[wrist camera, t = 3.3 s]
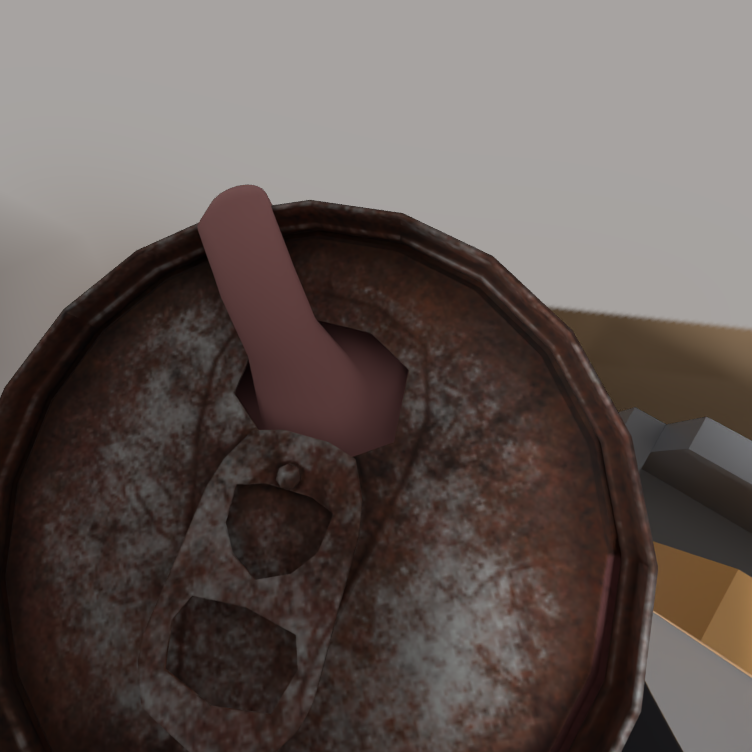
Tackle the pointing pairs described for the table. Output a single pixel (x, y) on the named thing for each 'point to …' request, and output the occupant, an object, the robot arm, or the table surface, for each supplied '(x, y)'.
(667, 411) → the table surface
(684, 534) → the grey shallow open box
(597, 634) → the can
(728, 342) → the table surface
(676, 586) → the wedge
